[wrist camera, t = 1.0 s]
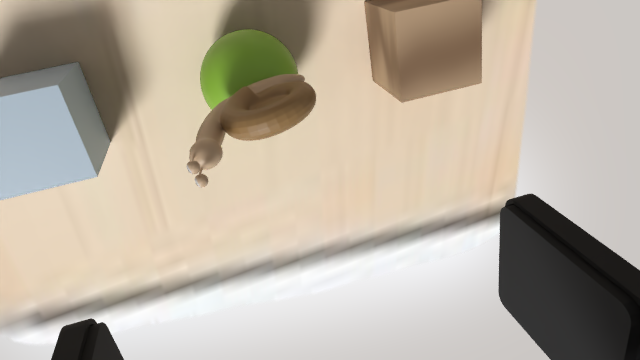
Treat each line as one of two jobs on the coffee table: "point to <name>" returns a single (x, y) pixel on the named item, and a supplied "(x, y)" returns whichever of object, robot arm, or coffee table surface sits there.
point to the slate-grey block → (48, 131)
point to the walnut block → (424, 45)
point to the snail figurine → (247, 95)
